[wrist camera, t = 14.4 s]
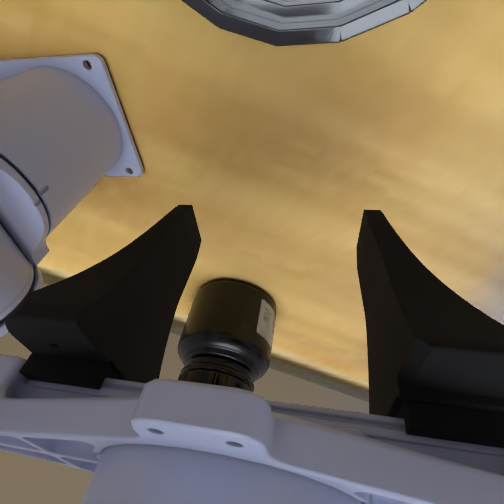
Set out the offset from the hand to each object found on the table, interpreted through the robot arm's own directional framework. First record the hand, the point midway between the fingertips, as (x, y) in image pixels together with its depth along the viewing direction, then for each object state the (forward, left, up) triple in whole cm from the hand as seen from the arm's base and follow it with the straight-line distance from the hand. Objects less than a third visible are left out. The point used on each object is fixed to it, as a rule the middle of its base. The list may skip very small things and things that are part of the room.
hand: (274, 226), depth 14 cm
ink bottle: (-6, -19, -10) cm, 22 cm away
